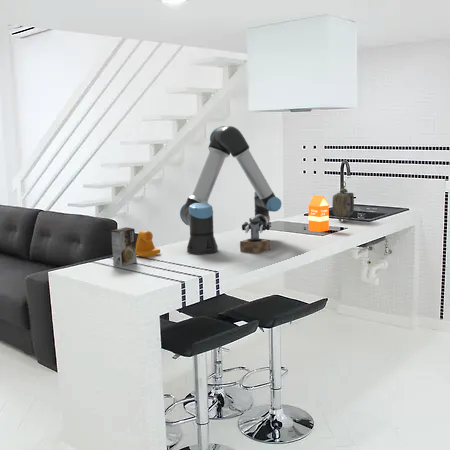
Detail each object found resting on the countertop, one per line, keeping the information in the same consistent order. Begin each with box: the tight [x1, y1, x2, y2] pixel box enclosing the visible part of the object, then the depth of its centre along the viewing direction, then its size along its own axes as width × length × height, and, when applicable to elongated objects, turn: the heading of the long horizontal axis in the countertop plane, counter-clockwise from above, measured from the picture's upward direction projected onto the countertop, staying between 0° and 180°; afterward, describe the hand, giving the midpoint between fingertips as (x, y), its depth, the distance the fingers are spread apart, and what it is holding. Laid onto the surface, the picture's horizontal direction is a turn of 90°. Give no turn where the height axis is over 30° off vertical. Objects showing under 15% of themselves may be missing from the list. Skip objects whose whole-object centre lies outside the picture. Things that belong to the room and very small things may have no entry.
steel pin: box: [248, 217, 260, 242], centre depth 285 cm, size 5×5×16 cm
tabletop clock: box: [332, 180, 355, 223], centre depth 364 cm, size 14×9×25 cm, turn 148°
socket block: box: [239, 237, 271, 255], centre depth 286 cm, size 10×10×5 cm
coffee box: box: [110, 227, 138, 267], centre depth 266 cm, size 9×6×16 cm
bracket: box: [135, 229, 161, 258], centre depth 283 cm, size 11×7×12 cm, turn 132°
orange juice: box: [307, 194, 330, 233], centre depth 335 cm, size 8×9×20 cm
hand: (253, 230), depth 280 cm, fingers open, 6 cm apart
